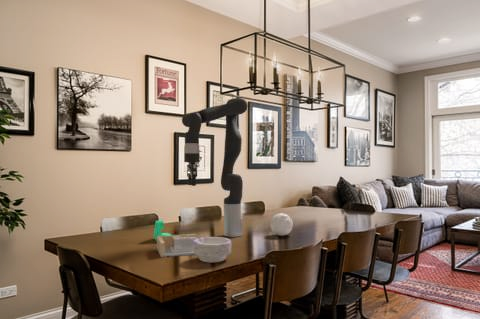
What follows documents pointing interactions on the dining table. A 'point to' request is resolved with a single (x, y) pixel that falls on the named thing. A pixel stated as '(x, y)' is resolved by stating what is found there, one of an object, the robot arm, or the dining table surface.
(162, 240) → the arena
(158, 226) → the camera mount
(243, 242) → the dining table surface
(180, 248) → the aluminium bracket
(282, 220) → the decorative ball
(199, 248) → the white marbled bowl
